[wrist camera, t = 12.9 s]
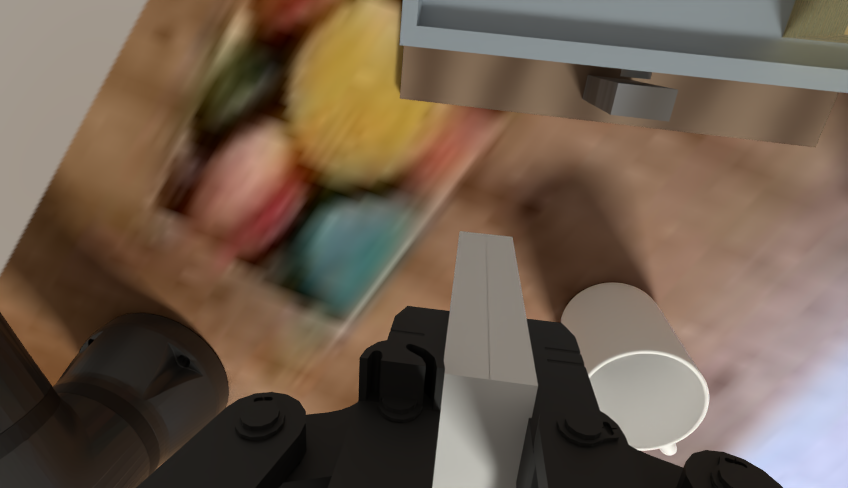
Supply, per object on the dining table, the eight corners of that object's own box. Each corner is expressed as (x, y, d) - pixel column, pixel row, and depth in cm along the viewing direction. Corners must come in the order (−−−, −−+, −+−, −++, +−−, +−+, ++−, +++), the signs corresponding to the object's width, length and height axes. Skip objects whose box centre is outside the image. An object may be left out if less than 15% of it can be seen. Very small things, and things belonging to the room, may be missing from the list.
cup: (636, 263, 38) (681, 331, 29) (691, 373, 41) (748, 467, 32) (542, 303, 41) (555, 378, 32) (600, 405, 44) (628, 500, 35)
